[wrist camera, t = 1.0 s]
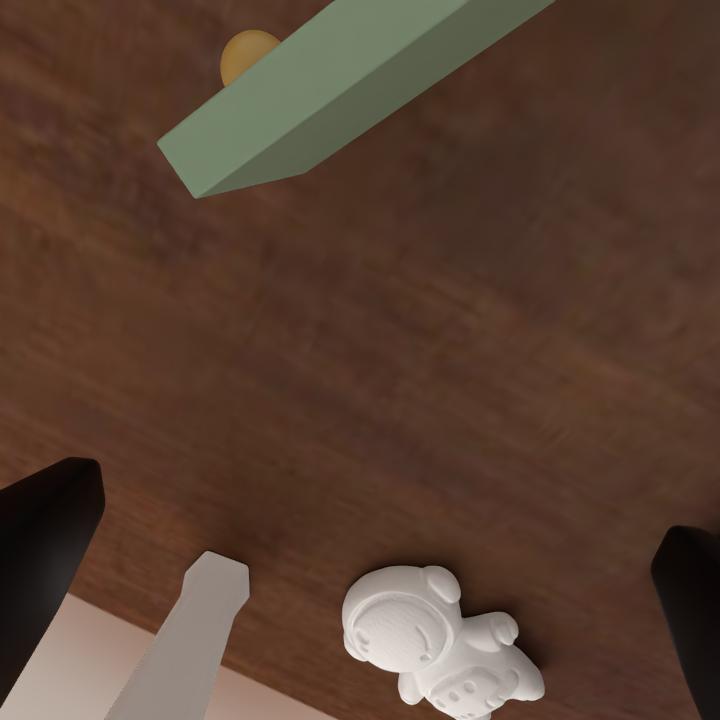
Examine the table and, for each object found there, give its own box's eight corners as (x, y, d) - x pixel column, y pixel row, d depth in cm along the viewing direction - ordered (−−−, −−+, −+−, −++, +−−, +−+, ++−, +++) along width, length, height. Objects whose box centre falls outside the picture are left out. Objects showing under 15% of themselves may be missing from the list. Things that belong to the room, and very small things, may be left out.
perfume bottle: (232, 620, 30) (75, 1022, 16) (170, 580, 29) (-49, 966, 15) (276, 579, 28) (143, 989, 15) (212, 536, 28) (7, 925, 14)
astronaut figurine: (445, 720, 31) (447, 775, 29) (312, 604, 29) (300, 653, 26) (567, 665, 28) (584, 721, 26) (432, 531, 26) (434, 577, 23)
